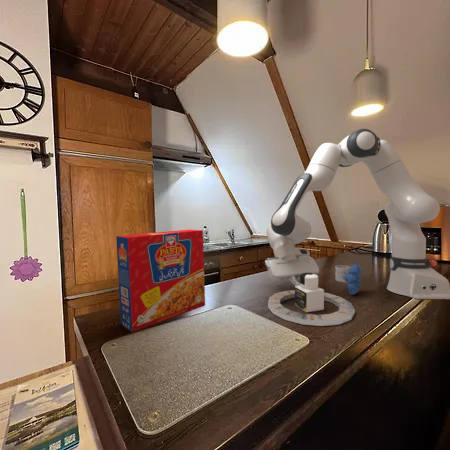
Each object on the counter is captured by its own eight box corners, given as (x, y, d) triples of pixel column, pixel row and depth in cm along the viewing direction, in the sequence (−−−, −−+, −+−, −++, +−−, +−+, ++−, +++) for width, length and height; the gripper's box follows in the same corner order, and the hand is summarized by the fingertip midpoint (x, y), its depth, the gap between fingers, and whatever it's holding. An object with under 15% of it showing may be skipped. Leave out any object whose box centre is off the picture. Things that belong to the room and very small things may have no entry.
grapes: (347, 287, 109) (347, 260, 108) (365, 291, 104) (365, 262, 103) (338, 295, 100) (338, 265, 99) (356, 298, 95) (357, 267, 95)
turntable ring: (344, 296, 98) (344, 291, 98) (364, 329, 71) (364, 323, 71) (271, 292, 105) (271, 287, 105) (264, 321, 78) (264, 315, 78)
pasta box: (132, 333, 73) (127, 237, 71) (120, 324, 78) (116, 236, 77) (205, 305, 93) (202, 230, 91) (191, 300, 98) (189, 229, 97)
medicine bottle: (294, 305, 91) (294, 272, 90) (311, 302, 93) (311, 270, 92) (306, 312, 84) (306, 277, 83) (324, 309, 86) (324, 275, 85)
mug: (352, 282, 116) (352, 268, 115) (337, 282, 117) (337, 268, 117) (346, 277, 125) (346, 263, 125) (332, 276, 127) (332, 263, 126)
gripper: (266, 253, 95) (279, 286, 86) (311, 250, 101) (328, 280, 92) (261, 263, 100) (273, 295, 91) (305, 259, 106) (320, 288, 97)
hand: (301, 287), depth 92 cm, fingers closed, pressing on medicine bottle
